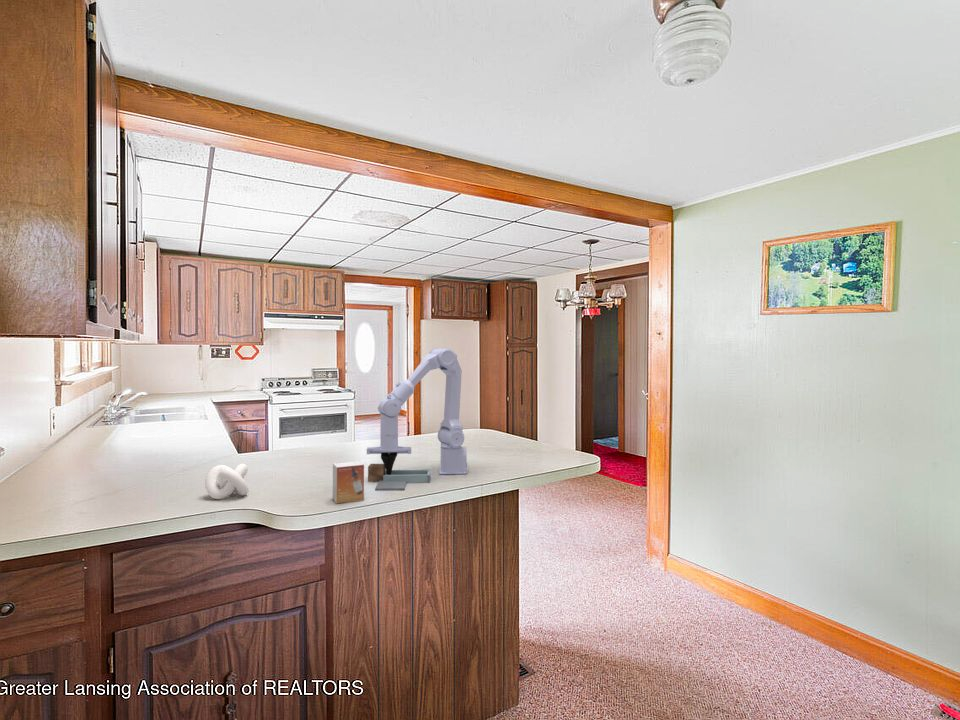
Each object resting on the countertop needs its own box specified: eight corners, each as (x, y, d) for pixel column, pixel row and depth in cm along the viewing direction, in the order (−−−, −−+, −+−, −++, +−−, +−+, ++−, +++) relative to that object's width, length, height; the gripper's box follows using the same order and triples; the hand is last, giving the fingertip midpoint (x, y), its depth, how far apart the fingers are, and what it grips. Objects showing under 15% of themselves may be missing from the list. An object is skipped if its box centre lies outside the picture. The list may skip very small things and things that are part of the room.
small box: (336, 504, 139) (336, 467, 139) (332, 498, 144) (332, 463, 144) (364, 500, 143) (364, 464, 142) (359, 495, 148) (359, 460, 147)
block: (385, 478, 166) (385, 463, 166) (383, 481, 162) (383, 466, 162) (370, 478, 166) (370, 463, 166) (368, 481, 162) (368, 466, 162)
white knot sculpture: (261, 494, 148) (261, 464, 148) (222, 505, 138) (222, 473, 137) (239, 488, 154) (239, 459, 154) (200, 498, 144) (200, 467, 143)
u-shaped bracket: (430, 476, 168) (430, 469, 168) (429, 482, 161) (429, 475, 161) (385, 477, 167) (385, 470, 167) (383, 483, 160) (383, 475, 160)
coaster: (406, 482, 162) (406, 480, 162) (404, 490, 153) (404, 488, 153) (379, 482, 161) (379, 480, 161) (375, 490, 152) (375, 488, 152)
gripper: (412, 432, 168) (412, 471, 168) (368, 432, 167) (368, 472, 167) (410, 436, 161) (410, 477, 161) (365, 436, 160) (365, 478, 160)
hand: (389, 475), depth 164 cm, fingers closed
